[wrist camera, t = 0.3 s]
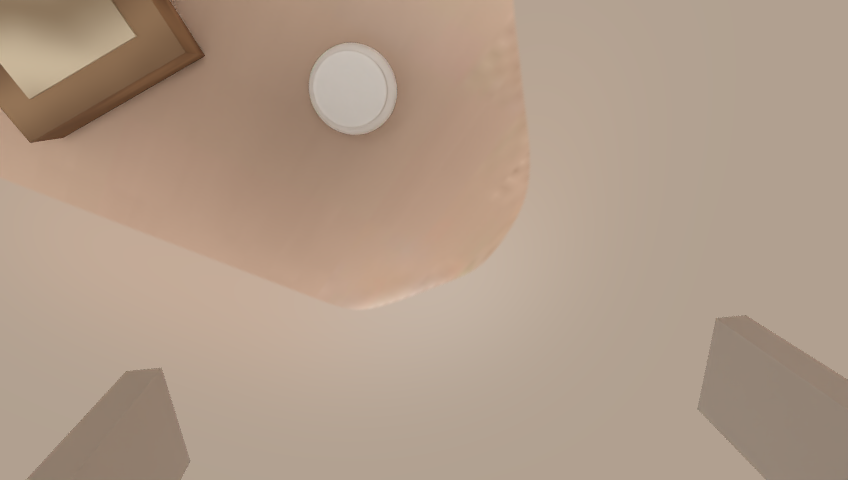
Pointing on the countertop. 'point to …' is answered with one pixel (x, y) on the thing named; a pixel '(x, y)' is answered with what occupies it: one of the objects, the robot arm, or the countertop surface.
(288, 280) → the countertop surface
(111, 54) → the stand
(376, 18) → the countertop surface
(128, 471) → the robot arm
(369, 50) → the pill bottle
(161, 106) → the countertop surface
